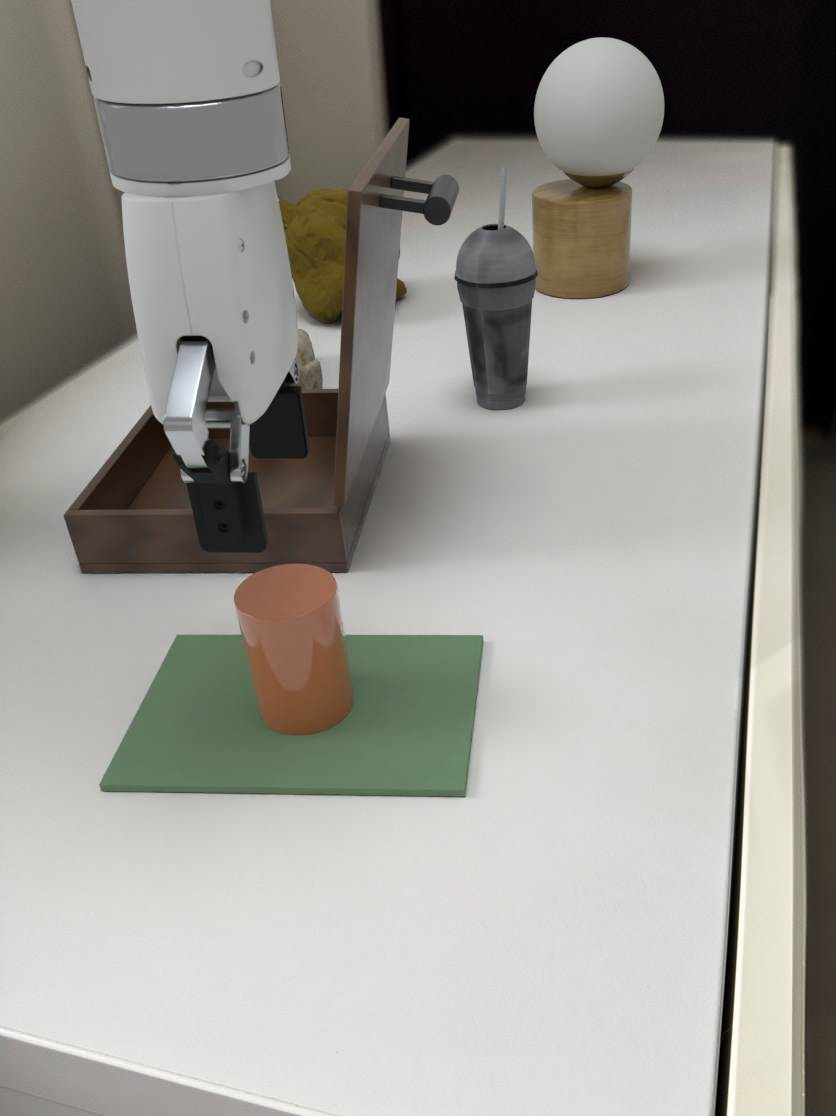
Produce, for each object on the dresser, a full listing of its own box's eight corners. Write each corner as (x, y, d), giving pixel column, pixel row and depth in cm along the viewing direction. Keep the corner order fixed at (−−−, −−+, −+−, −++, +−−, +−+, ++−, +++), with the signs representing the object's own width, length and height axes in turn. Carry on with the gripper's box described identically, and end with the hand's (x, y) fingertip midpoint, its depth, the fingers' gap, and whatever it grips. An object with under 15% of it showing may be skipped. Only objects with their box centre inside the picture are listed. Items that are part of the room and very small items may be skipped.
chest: (81, 573, 76) (62, 515, 73) (172, 442, 94) (160, 391, 91) (347, 572, 74) (339, 512, 72) (390, 439, 92) (385, 387, 89)
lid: (347, 189, 59) (442, 203, 59) (398, 117, 77) (472, 128, 77) (332, 506, 71) (411, 517, 71) (379, 381, 89) (443, 391, 89)
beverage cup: (448, 395, 99) (432, 167, 87) (516, 378, 102) (509, 155, 90) (484, 422, 94) (472, 184, 82) (554, 404, 96) (552, 170, 85)
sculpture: (256, 370, 109) (244, 419, 96) (250, 324, 106) (238, 367, 93) (326, 368, 109) (323, 415, 97) (322, 321, 107) (319, 364, 94)
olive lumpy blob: (265, 313, 120) (244, 184, 112) (350, 279, 129) (336, 156, 121) (353, 336, 114) (338, 200, 105) (437, 298, 122) (429, 170, 114)
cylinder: (248, 734, 60) (221, 619, 55) (271, 674, 64) (247, 563, 60) (345, 735, 59) (326, 620, 55) (361, 675, 64) (345, 562, 59)
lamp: (595, 253, 133) (599, 26, 119) (681, 276, 124) (696, 33, 110) (505, 282, 126) (497, 43, 111) (589, 308, 117) (592, 52, 102)
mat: (100, 791, 57) (98, 784, 57) (178, 640, 69) (176, 634, 68) (465, 796, 56) (464, 790, 55) (483, 641, 67) (483, 634, 67)
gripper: (172, 102, 51) (232, 427, 61) (23, 192, 37) (132, 592, 48) (324, 98, 51) (359, 427, 61) (230, 189, 37) (296, 595, 47)
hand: (260, 499), depth 54 cm, fingers open, 9 cm apart
